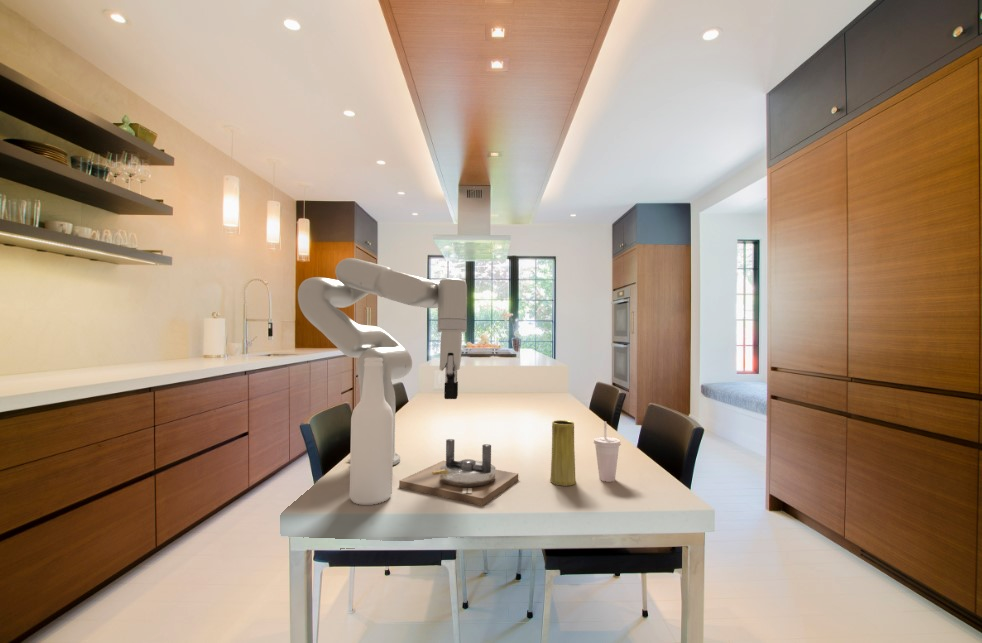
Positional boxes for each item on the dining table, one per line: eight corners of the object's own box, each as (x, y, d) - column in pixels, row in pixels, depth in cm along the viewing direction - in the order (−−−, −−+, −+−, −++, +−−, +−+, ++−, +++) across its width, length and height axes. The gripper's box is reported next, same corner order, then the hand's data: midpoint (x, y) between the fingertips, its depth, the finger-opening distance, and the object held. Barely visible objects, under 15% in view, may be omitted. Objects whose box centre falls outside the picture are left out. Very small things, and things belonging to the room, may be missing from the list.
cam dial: (424, 482, 94) (425, 446, 95) (459, 465, 107) (459, 434, 108) (474, 493, 88) (475, 454, 89) (504, 473, 101) (504, 440, 102)
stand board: (399, 487, 96) (399, 479, 97) (443, 466, 112) (443, 459, 112) (482, 505, 86) (482, 497, 86) (518, 479, 102) (518, 472, 102)
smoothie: (605, 473, 108) (605, 418, 108) (626, 480, 102) (626, 422, 103) (588, 477, 104) (588, 421, 105) (608, 485, 99) (608, 425, 99)
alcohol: (390, 505, 86) (392, 359, 87) (345, 507, 85) (348, 359, 86) (393, 489, 95) (395, 357, 96) (353, 491, 94) (356, 357, 95)
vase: (575, 487, 97) (575, 425, 98) (549, 485, 99) (549, 424, 99) (575, 478, 103) (576, 420, 104) (550, 476, 105) (551, 419, 105)
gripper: (440, 327, 117) (439, 393, 116) (434, 325, 100) (433, 402, 100) (467, 327, 117) (466, 393, 116) (465, 325, 101) (465, 402, 100)
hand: (451, 397), depth 108 cm, fingers open, 3 cm apart
